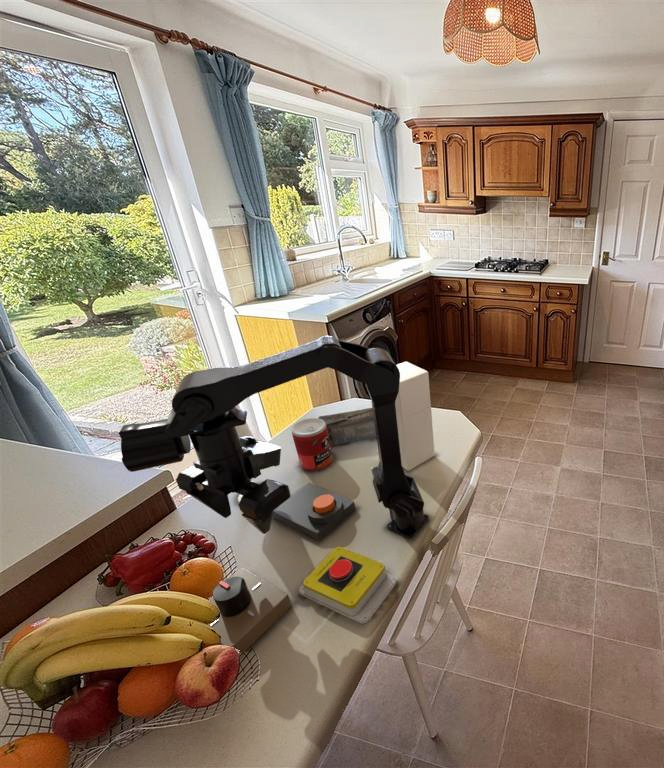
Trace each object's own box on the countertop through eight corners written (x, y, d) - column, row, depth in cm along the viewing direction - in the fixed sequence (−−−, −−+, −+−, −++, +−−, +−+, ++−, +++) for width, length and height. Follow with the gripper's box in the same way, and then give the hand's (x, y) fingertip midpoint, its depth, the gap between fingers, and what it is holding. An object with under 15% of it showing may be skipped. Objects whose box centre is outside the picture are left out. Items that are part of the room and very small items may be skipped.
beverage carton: (321, 433, 116) (317, 413, 113) (390, 421, 122) (388, 402, 119) (320, 448, 109) (316, 428, 106) (393, 435, 116) (391, 416, 113)
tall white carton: (387, 457, 107) (375, 371, 96) (414, 442, 113) (406, 360, 102) (408, 471, 102) (397, 383, 91) (435, 455, 108) (428, 371, 97)
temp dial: (257, 598, 68) (250, 581, 66) (231, 621, 64) (223, 604, 62) (240, 587, 69) (233, 571, 67) (214, 609, 66) (205, 592, 64)
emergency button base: (357, 509, 90) (354, 496, 88) (320, 542, 82) (317, 527, 80) (310, 489, 95) (307, 476, 94) (272, 517, 87) (267, 503, 86)
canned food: (322, 473, 101) (313, 437, 96) (293, 468, 102) (283, 432, 97) (339, 455, 107) (332, 420, 102) (312, 450, 109) (304, 416, 104)
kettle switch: (339, 504, 87) (337, 497, 86) (324, 516, 83) (322, 510, 83) (325, 498, 88) (324, 491, 87) (310, 510, 85) (308, 503, 84)
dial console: (292, 605, 70) (287, 593, 68) (235, 661, 62) (229, 648, 60) (246, 578, 74) (241, 566, 73) (187, 626, 66) (181, 614, 65)
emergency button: (331, 537, 78) (396, 563, 73) (335, 553, 80) (399, 579, 75) (291, 576, 70) (361, 608, 65) (297, 593, 72) (365, 625, 67)
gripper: (307, 437, 67) (323, 508, 74) (226, 413, 73) (249, 481, 80) (245, 478, 58) (271, 554, 65) (159, 447, 63) (191, 520, 71)
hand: (246, 523), depth 70 cm, fingers open, 9 cm apart
